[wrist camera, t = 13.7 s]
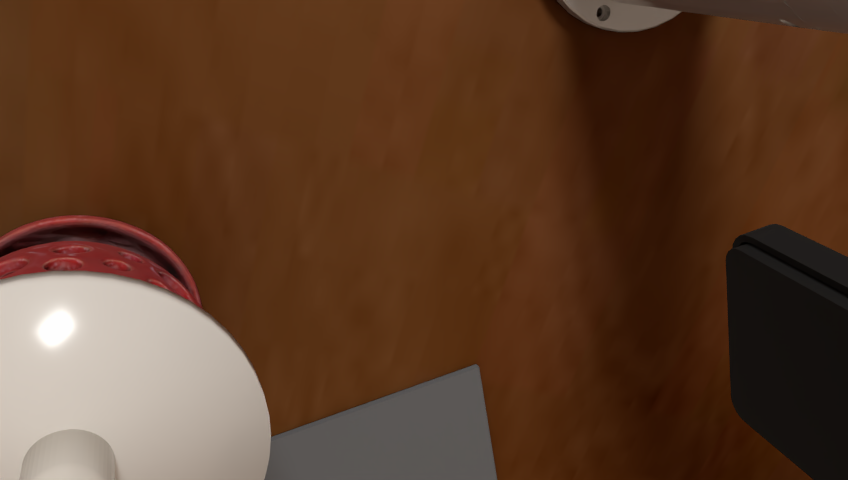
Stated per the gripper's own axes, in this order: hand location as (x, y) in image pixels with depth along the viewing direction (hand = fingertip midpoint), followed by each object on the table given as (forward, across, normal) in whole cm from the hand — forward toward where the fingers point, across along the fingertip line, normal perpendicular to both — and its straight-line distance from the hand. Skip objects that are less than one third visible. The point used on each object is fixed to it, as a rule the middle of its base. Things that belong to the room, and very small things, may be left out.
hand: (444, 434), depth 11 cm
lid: (+19, +11, +10) cm, 24 cm away
